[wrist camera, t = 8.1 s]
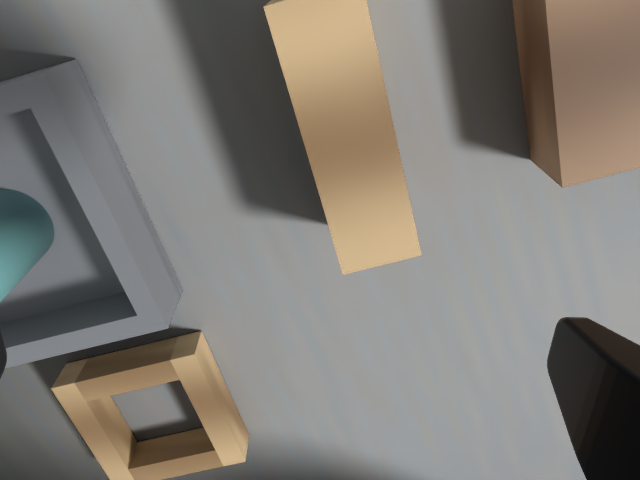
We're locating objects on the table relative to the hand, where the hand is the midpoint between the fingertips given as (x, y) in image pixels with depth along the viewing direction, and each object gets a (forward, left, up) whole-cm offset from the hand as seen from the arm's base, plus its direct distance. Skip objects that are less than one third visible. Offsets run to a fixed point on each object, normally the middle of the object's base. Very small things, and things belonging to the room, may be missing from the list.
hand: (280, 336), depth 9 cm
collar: (-10, +9, -11) cm, 17 cm away
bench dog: (0, -2, -11) cm, 11 cm away
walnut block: (0, -11, -11) cm, 16 cm away
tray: (0, +10, -11) cm, 15 cm away
